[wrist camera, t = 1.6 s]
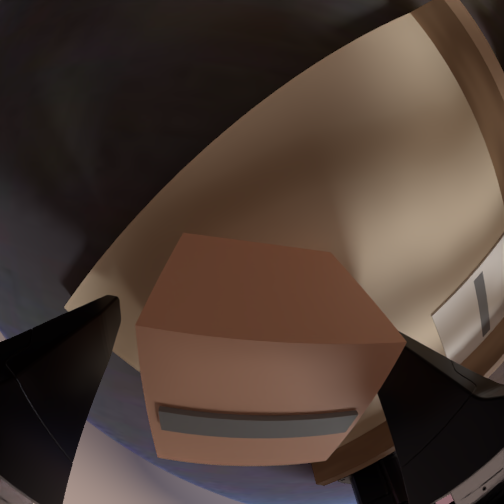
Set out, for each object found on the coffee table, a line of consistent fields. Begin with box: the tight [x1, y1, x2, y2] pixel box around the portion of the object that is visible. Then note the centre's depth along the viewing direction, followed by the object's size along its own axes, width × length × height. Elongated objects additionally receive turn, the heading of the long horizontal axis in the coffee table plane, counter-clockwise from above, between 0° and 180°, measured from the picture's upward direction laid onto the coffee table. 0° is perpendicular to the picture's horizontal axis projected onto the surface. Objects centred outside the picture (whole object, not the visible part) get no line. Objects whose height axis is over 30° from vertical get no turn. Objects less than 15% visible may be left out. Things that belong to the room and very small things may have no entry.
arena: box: [64, 0, 504, 486], centre depth 10 cm, size 20×20×3 cm
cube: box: [135, 233, 407, 466], centre depth 7 cm, size 5×5×5 cm
